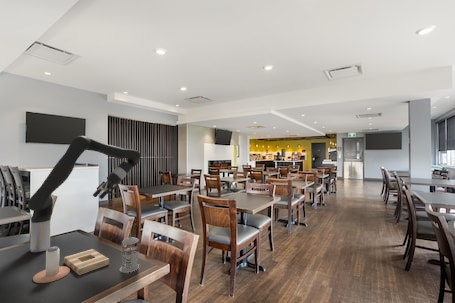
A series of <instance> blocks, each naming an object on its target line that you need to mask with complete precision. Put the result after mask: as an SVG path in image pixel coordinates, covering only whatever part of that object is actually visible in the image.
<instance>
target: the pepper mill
mask: <svg viewBox="0 0 455 303" xmlns="http://www.w3.org/2000/svg"><path fill="white" fill-rule="evenodd" d="M59 266H60V248H59V247H58V246H50V248H48V249H47V250H45V270H46V276H52V275H56V274H58V273H59Z"/></svg>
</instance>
